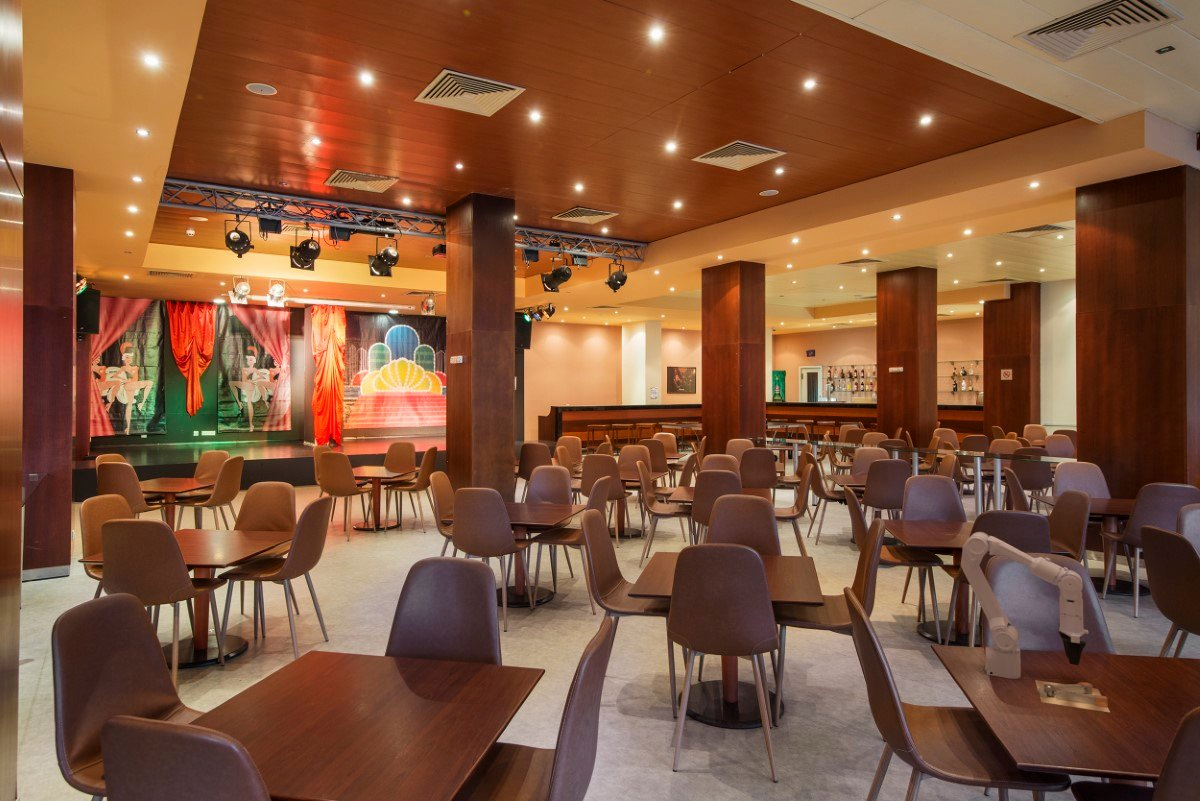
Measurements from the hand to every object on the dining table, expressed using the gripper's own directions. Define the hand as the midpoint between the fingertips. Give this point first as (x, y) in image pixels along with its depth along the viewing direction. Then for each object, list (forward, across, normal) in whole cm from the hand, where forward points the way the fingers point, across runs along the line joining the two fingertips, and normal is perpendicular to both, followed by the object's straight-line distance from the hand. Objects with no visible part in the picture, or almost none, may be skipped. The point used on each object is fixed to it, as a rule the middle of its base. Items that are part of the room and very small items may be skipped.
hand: (1072, 660), depth 203 cm
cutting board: (+8, -8, +2) cm, 12 cm away
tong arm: (+7, -7, +1) cm, 10 cm away
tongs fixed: (+7, -12, +2) cm, 14 cm away
